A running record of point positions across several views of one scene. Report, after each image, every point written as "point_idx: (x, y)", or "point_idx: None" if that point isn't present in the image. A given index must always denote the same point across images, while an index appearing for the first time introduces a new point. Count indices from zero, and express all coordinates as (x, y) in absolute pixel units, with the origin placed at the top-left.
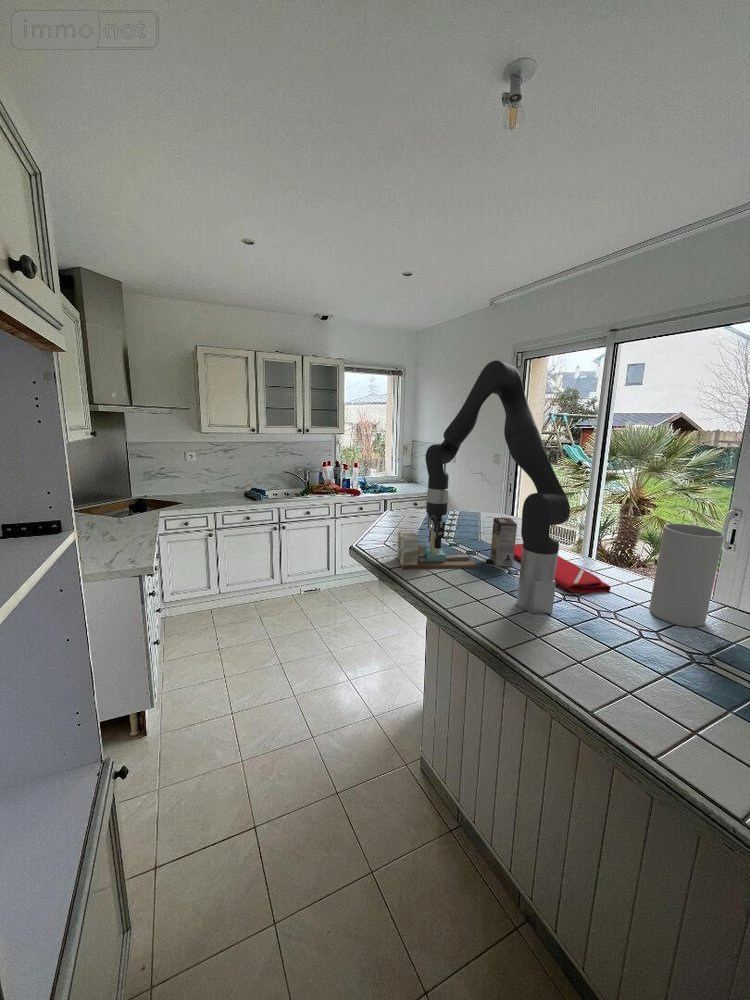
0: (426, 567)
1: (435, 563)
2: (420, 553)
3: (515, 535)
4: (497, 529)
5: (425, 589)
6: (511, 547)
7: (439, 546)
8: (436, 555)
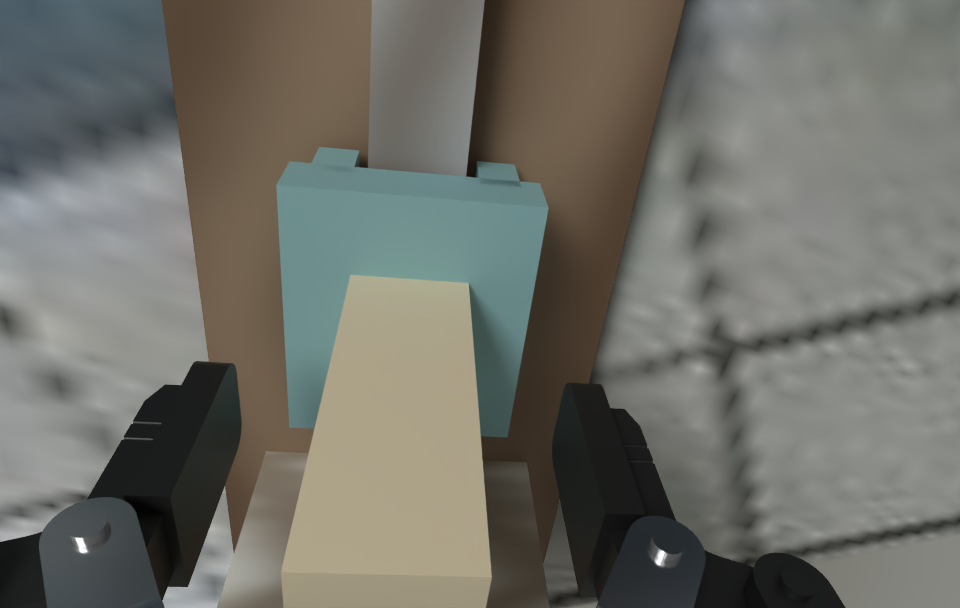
0: None
1: (536, 294)
2: None
3: None
4: None
5: (955, 487)
6: None
7: (632, 433)
8: (524, 333)
